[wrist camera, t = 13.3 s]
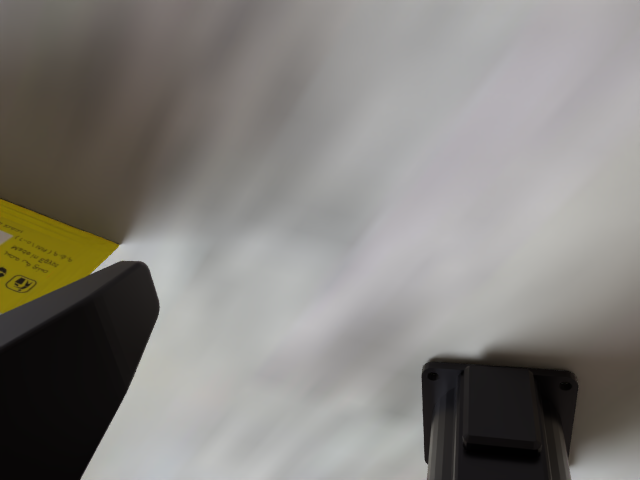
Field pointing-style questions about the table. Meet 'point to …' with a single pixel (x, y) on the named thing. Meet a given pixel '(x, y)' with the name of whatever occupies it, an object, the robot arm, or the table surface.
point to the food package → (42, 255)
